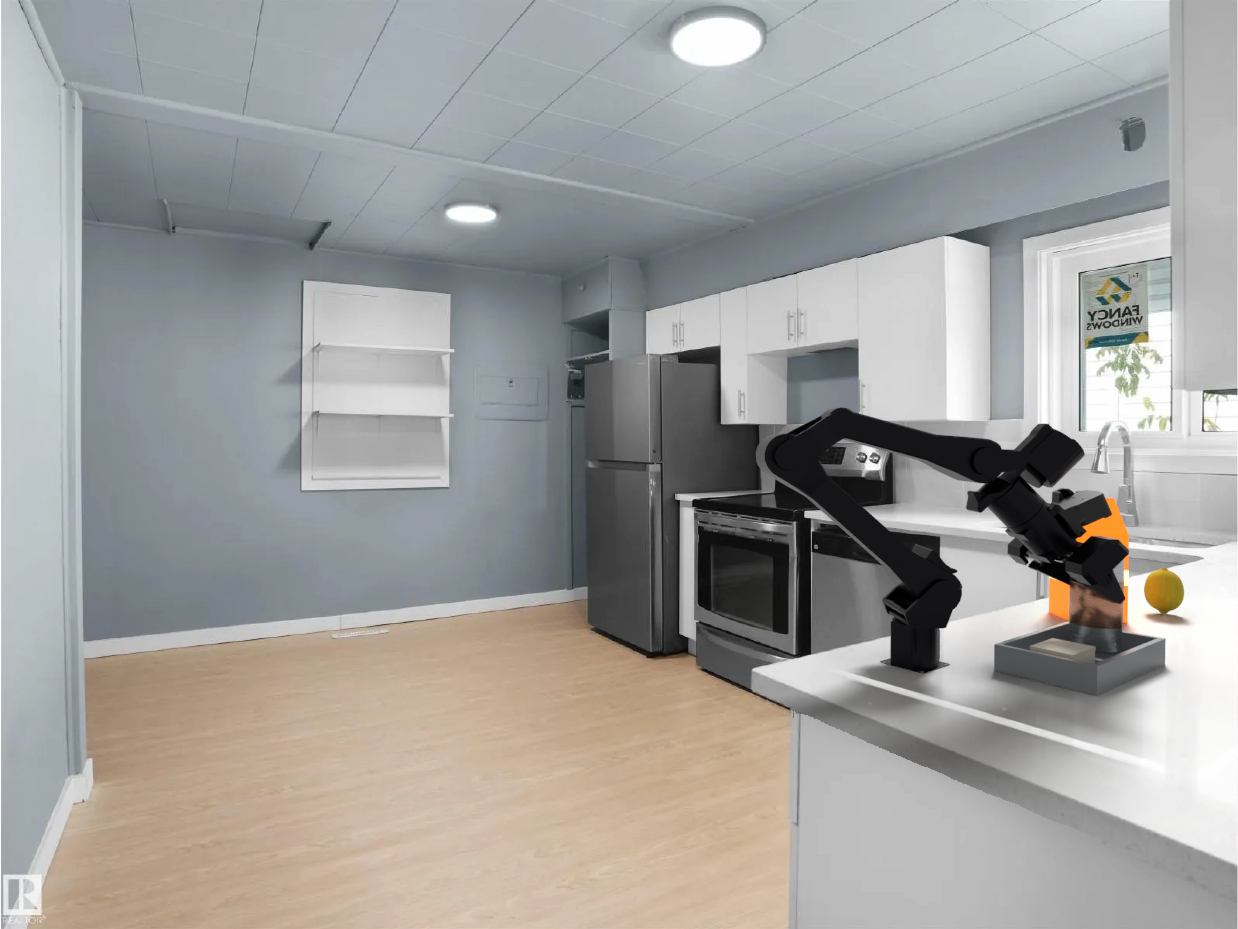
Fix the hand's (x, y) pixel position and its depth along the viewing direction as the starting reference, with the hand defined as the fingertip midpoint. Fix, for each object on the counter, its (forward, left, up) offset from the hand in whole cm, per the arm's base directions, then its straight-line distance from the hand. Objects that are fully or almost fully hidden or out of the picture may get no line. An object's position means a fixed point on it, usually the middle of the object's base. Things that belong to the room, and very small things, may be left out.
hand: (1106, 596), depth 101 cm
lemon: (+39, +7, -9) cm, 41 cm away
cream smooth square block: (-11, +1, -9) cm, 14 cm away
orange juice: (+27, +14, -9) cm, 32 cm away
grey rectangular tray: (-6, +1, -9) cm, 11 cm away
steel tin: (-1, +1, -7) cm, 7 cm away
